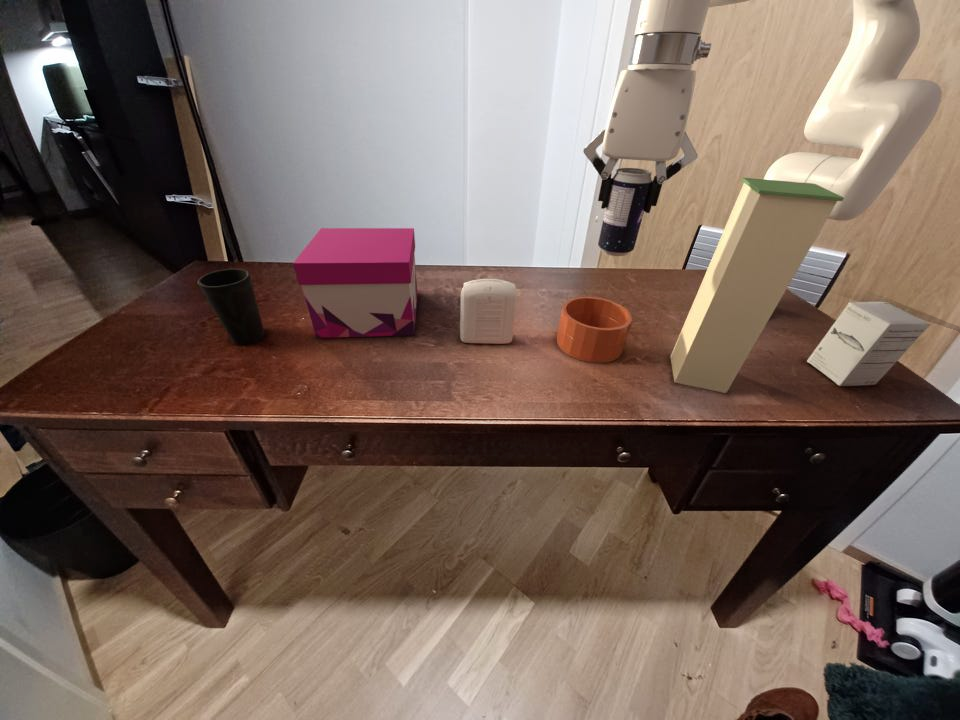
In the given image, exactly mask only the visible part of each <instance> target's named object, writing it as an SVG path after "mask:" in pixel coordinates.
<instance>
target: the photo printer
mask: <svg viewBox="0 0 960 720" xmlns="http://www.w3.org/2000/svg"><path fill="white" fill-rule="evenodd" d="M517 303H518V292H517V286H516V284H515V283H513V282H511V281H508V280H504V279H498V278H479V279H473V280H469V281H466V282H463V287H462V289H461V291H460V308H459V309H460V311H459V313H460V314H459V315H460V317H459V339H460V341H461V342H462V343H466V344H494V345H495V344H497V345H499V344H500V345H501V344H503V345H505V344H510V343H511V342H513V339H514V338H513V336H514V327H515V320H516V312H517V311H516V310H517Z"/></svg>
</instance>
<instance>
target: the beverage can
mask: <svg viewBox="0 0 960 720" xmlns="http://www.w3.org/2000/svg"><path fill="white" fill-rule="evenodd" d="M652 174H653V172H652V171H651V170H649V169H645V168H644V169H643V168H638V167H620V168H616V170H615V173H614V175H613V176H612V177H611V178H612V182H611V187H610V191H609V196H608V201H607V205H606V208H604V209H605V210H604V213H603V214H604V215H603V219H602V223H601V229H600V233H599V236H598V237H599V238H598V242H597V246H598V247H599V248H600V249H601V252H602V253H603V254H605V255H608V256H613V257H624V256H627V255H629V254H630V253H631V252H633V251H634V249H635V247H636V244H637V240H638V236H639V232H640V228H641V225H642V221H643V217H644V214H645V211H644V210H645V207H646V203H647V199H648V195H649V192H650V188H651V184H652V181H653V179H652Z"/></svg>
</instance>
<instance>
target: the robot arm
mask: <svg viewBox="0 0 960 720" xmlns="http://www.w3.org/2000/svg"><path fill="white" fill-rule="evenodd" d="M748 1H750V0H641V1H640V5H639V10H638V15H637V19H636V25H635V30H634V35H633V39H632V45H631V49H630V55H629V60H628V65H627V69H623V70H621V71H620V73H619V76H618V79H617V81H616V85H615V88H614V92H613V95H612V99H611V103H610V107H609V112H608V116H607V121H606V126H605V127H604V128H603V129H602V130H601V131H600V132H599V133H598V134H597V135H596V136H595V137H594V138H593V139H592V140H591V141H590V142H589V143H588V144H587V145H586V146H584V148H583V151H582V152H583V154H584V156H586V158H587V159H588V161H589V162H590V163H591V164H592V167H594V169H595V171H596V172H597V173H598V175H599V176H600V179H601V183H600V187H599V194H598V199H597V202H601V206H600V209H602V210H604V209H606V205H607V201H608V196H609V191H610V187H611V182H612V178H613V177H612V175H613V174H612V172H613V170H614V168H615V166H616V165H617V163H618V162H619V160H632V161H649V162H654V167H655V175H654V177H653V179H652V184H651V188H650V192H649V195H648V199H647V203H646V207H645V210H644V213H646V214H650V213H651V210H652V207H657V204H658V201H659V197H660V194H661V190H662V187H663V185H664V184H665V183H666V182H667V181H668V180H669V179H671V178H672V177H673V176H675V175H676V174H678V173H679V172H680V171H681V170H682V169H684V168H686V167H687V166H688V165H690V164H692V163H693V162H695V161H696V160H697V159H698V156H699V155H698V153H697V151H696V148H695V147H694V145H693V144H692V141H691V139H690V138H689V135H688V133H687V132H686V128H687V123H688V119H689V116H690V110H691V107H692V101H693V96H694V91H695V84H696V78H697V77H696V76H697V70H695V69H694V70H693V69H692V68H693V65H694V63H695V62H696V61H697V60H700V59H707V58H708V56H709V54H710V52H711V48H712V43H711V42H710V43H706V42H705V41H703V39H702V33H703V28H704V25H705V22H706V18H707V14H708V12H709V8H714V7H723V6H729V5H734V4H735V5H736V4H740V3H744V2H745V3H746V2H748ZM852 10H853V11H852V12H853V13H852V14H853V15H852V17H853V18H852V30H851V35H850V39H849V42H848V44H847V46H846V49H845V51H844V53H843V54H842V56H841V59H839V60H840V61H839V62H838V64H837V66H836V68H835V70H834V71H833V72H832V75H831V77H830V78H829V80H828V81H827V84H826V86H825V87H824V89H823V90H822V92H821V94H820V96H819V98H818V99H817V101H816V103H815V105H814V107H813V108H812V110H811V112H810V114H809V116H808V118H807V119H806V122H805V125H804V129H803V134H804V138H805V139H806V140H807V141H808V142H811V143H814V144H818V145H822V146H823V145H824V146H829V147H830V146H831V147H838V148H846V149H854V150H862V152H861V154H860V157H859V158H854V157H846V156H840V155H838V154H837V155H835V154H827V153H821V152H813V151H795V152H792V153H787V154H785V155H783V156H781V157H780V158H778V159H776V160H775V161H774V162H773V163H772V164H771V165H770V167H769V168H768V169H767V171H766V173H765V175H764V177H763V179H764V180H776V181H788V182H800V183H812V184H817V185H819V186H821V187H823V188H825V189H827V190H829V191H831V192H833V193H835V194H838V195H840V196H842V197H844V199H843V201H837V203H836V204H835V206H834V208H833V210H832V211H831V213H830V215H829V217H828V218H827V220H833V221H841V222H844V221H845V222H847V221H851V220H854V219H856V218H858V217H859V216H861V215H863V214H864V213H865V212H866V211H867V210H868V209H869V208H870V207H871V206H872V205H873V204H874V202H875V201H876V200H877V199H878V198H879V196H880V195H881V194H882V192H883V191H884V189H886V187H887V186H888V184H889V183H890V181H891V180H892V178H893V177H894V175H896V173H897V171H898V170H899V169H900V167H901V166H902V165H903V163H904V162H905V161H906V159H907V158H908V157H909V155H910V153H912V151H913V149H914V148H915V147H916V146H917V144H918V142H919V141H920V139H922V137H923V135H924V134H925V132H927V129H928V128H929V127H930V125H931V123H932V122H933V120H934V118H935V116H936V114H937V113H938V111H939V108H940V105H941V102H942V97H943V96H942V95H943V94H942V93H943V92H942V88H941V86H940V85H939V84H938V83H937V82H935V81H932V80H928V79H919V78H918V79H915V78H914V79H911V78H909V79H906V78H905V79H903V78H901V79H900V78H898V77H899V76H900V74H901V72H902V71H903V70H904V68H905V66H906V65H907V63H908V62H909V59H910V58H911V56H912V54H913V53H914V51H915V49H916V48H917V46H918V43H919V41H920V36H921V21H920V17H919V14H918V11H917V7H916V3H915V1H914V0H852ZM601 145H602V154H603V155H604V156H606V157H607V158H608V159H607V161H606V163H605V161H604V160H603V158H602V157H601V156H600V154H599V153H598V152H597V149H598V148H599V146H601ZM680 149H681V151H682V156H680V157H679V158H678V159H677V160H675V161H673V162H672V163H670V164H669V165H668V166H667V162H668V161H671V160H673V159H675V158H676V157H677V156H678V154H679V152H680Z"/></svg>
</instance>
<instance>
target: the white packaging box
mask: <svg viewBox="0 0 960 720" xmlns="http://www.w3.org/2000/svg"><path fill="white" fill-rule="evenodd" d="M930 326H932V324H931V323H930V322H928V321H925V320H924V319H921V318H919V317H918V316H916V315H913V314H911V313H909V312H907V311H905V310H903V309H901V308H899V307H897V306H895V305H894V304H891V303H889V302H887V301H851V302H848V304H847V305H846V306H845V308H844V309H843V310H842V311H841V313H840V315H839V316H838V317H837V319H836V320H835V322H833V324H832V325H831V327H830V328H829V330H828V331H827V332H826V334H825V335H824V336H823V338H822V339H821V340H820V342H819V343H818V345H817V346H816V347H815V349H814V350H813V352H812V353H811V354H810V356H809V357H808V359H807V360H806V362H807V363H808V364H810V365H811V366H813V367H814V368H815V369H817V370H818V371H819V372H821V373H822V374H823V375H825V376H826V377H827V378H828V379H830V380H831V381H832V382H834V383H835V385H837V386H839V387H854V386H855V387H856V386H874V385H876V384H877V383H878V382H880V380H881V379H882V378H883V377H884V376H886V374H887V373H888V372H889V371H890V370H891V369H892V368H893V366H894V365H895V364H896V363H897V362H898V361H899V360H900V359H901V357H902V356H903V355H905V353H906V352H907V351H908V350H909V349H910V348H911V347H912V346H913V344H914V343H916V341H917V340H918V339H919V338H920V337H921V335H922V334H924V332H926V331H927V329H928V328H930Z"/></svg>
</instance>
